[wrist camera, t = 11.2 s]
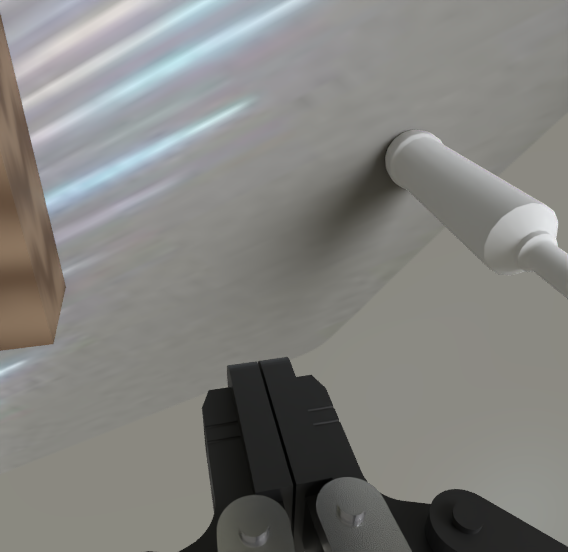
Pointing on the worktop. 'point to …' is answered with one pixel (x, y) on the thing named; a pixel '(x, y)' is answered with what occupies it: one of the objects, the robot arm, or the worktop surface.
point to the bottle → (480, 208)
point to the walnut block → (23, 229)
